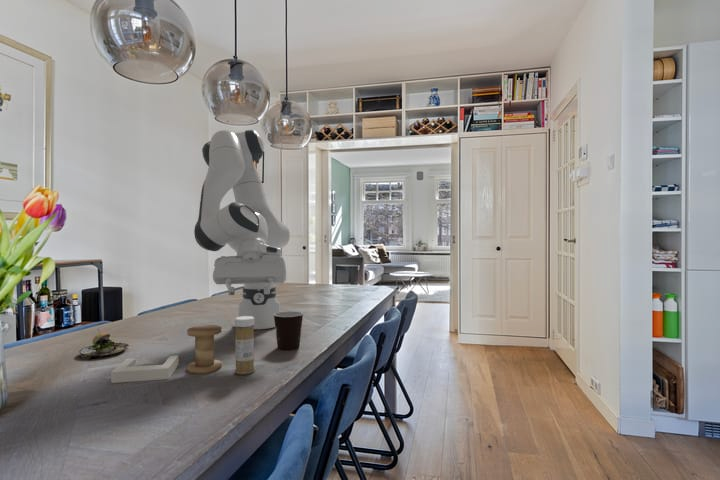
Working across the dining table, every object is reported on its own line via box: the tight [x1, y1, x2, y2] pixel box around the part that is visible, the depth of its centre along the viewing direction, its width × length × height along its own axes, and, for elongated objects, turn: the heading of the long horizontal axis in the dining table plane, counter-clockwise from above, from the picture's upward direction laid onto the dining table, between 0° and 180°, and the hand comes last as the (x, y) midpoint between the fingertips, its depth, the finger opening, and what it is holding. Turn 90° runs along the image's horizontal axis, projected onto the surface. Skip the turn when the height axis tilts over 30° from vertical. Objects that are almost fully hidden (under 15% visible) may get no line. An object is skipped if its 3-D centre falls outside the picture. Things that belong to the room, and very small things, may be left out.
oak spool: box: [186, 324, 223, 375], centre depth 99 cm, size 8×8×10 cm
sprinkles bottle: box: [234, 316, 255, 376], centre depth 97 cm, size 5×5×14 cm
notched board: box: [110, 355, 179, 384], centre depth 95 cm, size 10×12×2 cm
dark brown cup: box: [274, 310, 304, 351], centre depth 120 cm, size 12×9×10 cm
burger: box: [78, 329, 130, 361], centre depth 112 cm, size 12×12×8 cm
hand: (249, 293), depth 109 cm, fingers open, 8 cm apart
